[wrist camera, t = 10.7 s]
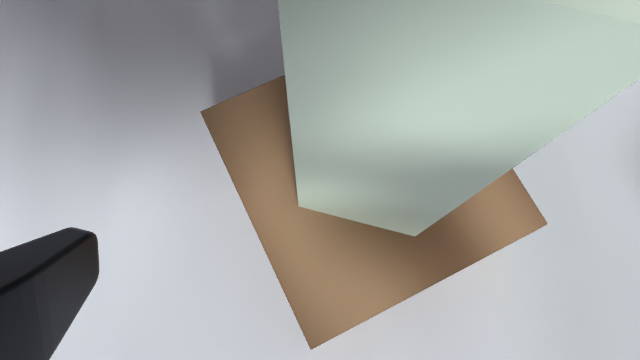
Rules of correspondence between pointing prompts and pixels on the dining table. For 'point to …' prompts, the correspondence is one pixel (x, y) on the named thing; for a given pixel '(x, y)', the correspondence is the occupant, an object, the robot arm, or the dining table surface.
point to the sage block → (439, 95)
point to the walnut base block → (348, 225)
